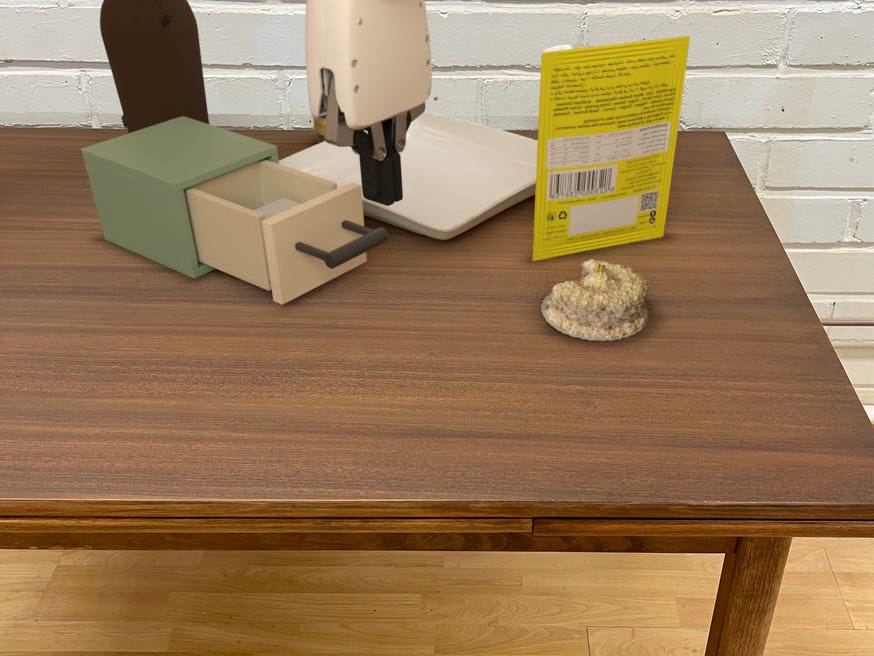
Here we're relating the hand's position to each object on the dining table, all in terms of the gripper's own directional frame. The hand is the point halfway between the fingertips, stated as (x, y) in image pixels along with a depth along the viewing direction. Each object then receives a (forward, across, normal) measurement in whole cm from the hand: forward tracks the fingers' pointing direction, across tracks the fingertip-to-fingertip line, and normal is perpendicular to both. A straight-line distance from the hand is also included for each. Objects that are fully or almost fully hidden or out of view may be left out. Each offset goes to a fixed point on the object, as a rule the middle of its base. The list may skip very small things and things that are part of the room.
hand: (382, 199), depth 81 cm
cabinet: (+11, 0, -27) cm, 29 cm away
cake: (+12, -12, +15) cm, 22 cm away
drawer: (+10, 0, -12) cm, 16 cm away
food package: (+12, -24, +8) cm, 28 cm away
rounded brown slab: (+11, -13, -47) cm, 50 cm away
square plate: (+11, -25, -16) cm, 32 cm away
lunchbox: (+9, 0, -14) cm, 17 cm away
